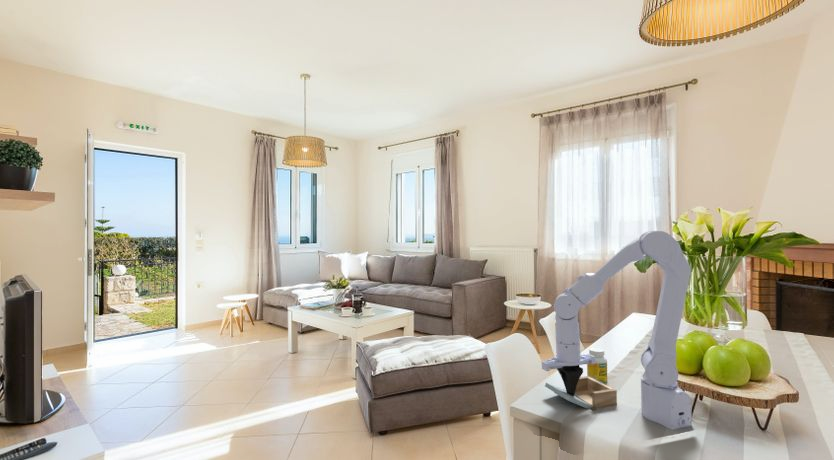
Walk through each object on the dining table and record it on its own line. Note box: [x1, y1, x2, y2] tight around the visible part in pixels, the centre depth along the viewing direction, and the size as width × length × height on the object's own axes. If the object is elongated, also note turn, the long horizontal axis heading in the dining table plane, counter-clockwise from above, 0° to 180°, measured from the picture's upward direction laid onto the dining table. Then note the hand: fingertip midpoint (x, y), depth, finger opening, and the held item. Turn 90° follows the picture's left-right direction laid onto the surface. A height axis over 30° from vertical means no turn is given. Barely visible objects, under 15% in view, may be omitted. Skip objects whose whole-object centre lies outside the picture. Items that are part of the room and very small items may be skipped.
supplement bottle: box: [586, 347, 608, 384], centre depth 112 cm, size 5×5×10 cm
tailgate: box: [544, 382, 591, 409], centre depth 97 cm, size 9×1×7 cm
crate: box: [562, 375, 618, 411], centre depth 99 cm, size 12×8×4 cm
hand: (570, 395), depth 98 cm, fingers closed, pressing on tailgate
